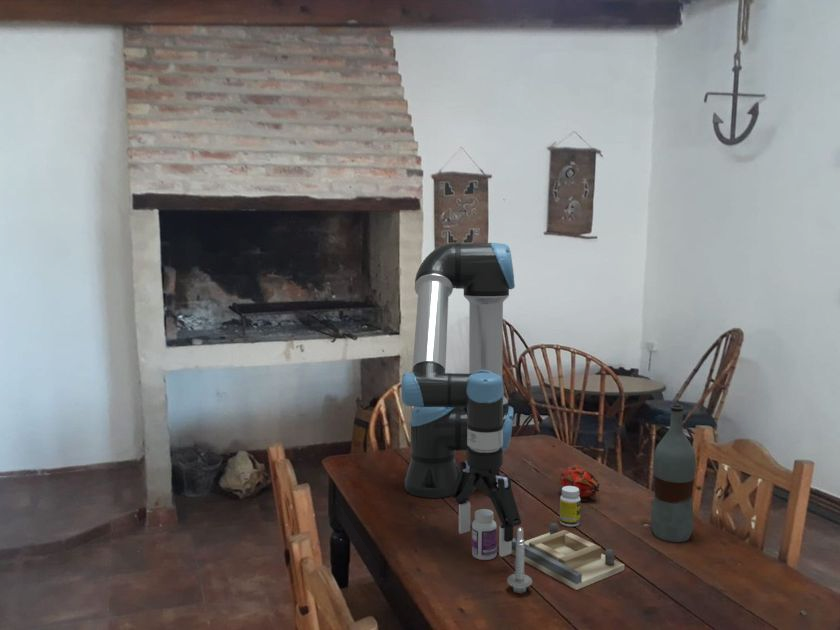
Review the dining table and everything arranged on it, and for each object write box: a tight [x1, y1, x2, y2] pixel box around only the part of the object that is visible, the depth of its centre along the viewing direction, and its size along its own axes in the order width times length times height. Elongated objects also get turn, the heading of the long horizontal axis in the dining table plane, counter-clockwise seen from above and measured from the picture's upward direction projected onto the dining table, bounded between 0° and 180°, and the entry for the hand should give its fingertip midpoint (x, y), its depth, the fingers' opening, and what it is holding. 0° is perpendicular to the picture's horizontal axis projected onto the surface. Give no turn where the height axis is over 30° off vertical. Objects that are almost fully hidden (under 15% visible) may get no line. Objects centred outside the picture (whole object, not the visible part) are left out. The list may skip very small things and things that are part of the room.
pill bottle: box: [471, 508, 498, 561], centre depth 162 cm, size 5×5×10 cm
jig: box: [510, 522, 625, 591], centre depth 159 cm, size 20×14×4 cm
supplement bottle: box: [559, 486, 581, 527], centre depth 178 cm, size 5×5×8 cm
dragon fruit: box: [557, 464, 600, 502], centre depth 194 cm, size 8×8×12 cm
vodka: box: [650, 404, 697, 543], centre depth 170 cm, size 9×9×30 cm
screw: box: [506, 526, 533, 594], centre depth 147 cm, size 13×5×5 cm
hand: (484, 542), depth 162 cm, fingers open, 13 cm apart
